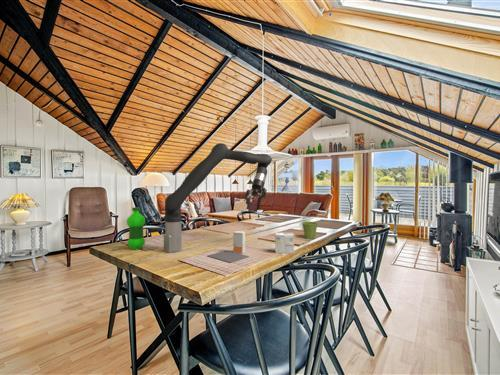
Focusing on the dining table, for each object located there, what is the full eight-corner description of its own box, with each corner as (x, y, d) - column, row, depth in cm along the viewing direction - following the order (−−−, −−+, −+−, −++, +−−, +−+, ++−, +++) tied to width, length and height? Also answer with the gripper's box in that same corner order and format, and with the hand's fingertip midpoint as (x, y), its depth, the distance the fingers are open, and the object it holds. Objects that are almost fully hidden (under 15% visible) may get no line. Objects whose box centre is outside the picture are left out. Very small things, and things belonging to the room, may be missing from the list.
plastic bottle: (147, 248, 154) (146, 207, 154) (127, 251, 148) (127, 208, 148) (144, 245, 162) (143, 206, 162) (125, 247, 157) (125, 207, 156)
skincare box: (232, 253, 144) (232, 232, 144) (236, 251, 148) (236, 230, 148) (242, 254, 142) (242, 232, 142) (245, 252, 146) (245, 231, 146)
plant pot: (299, 236, 189) (299, 221, 189) (314, 236, 190) (314, 221, 190) (304, 240, 177) (304, 224, 177) (320, 239, 179) (320, 223, 178)
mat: (230, 263, 125) (230, 262, 125) (207, 256, 137) (207, 255, 137) (249, 256, 136) (249, 256, 136) (225, 251, 148) (225, 250, 148)
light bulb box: (293, 250, 149) (293, 232, 149) (294, 253, 142) (294, 234, 142) (275, 250, 150) (275, 232, 150) (275, 253, 143) (275, 234, 143)
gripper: (247, 179, 163) (240, 201, 156) (265, 177, 155) (259, 200, 147) (253, 186, 168) (246, 207, 160) (271, 183, 160) (265, 206, 152)
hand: (252, 203), depth 154 cm, fingers open, 8 cm apart
